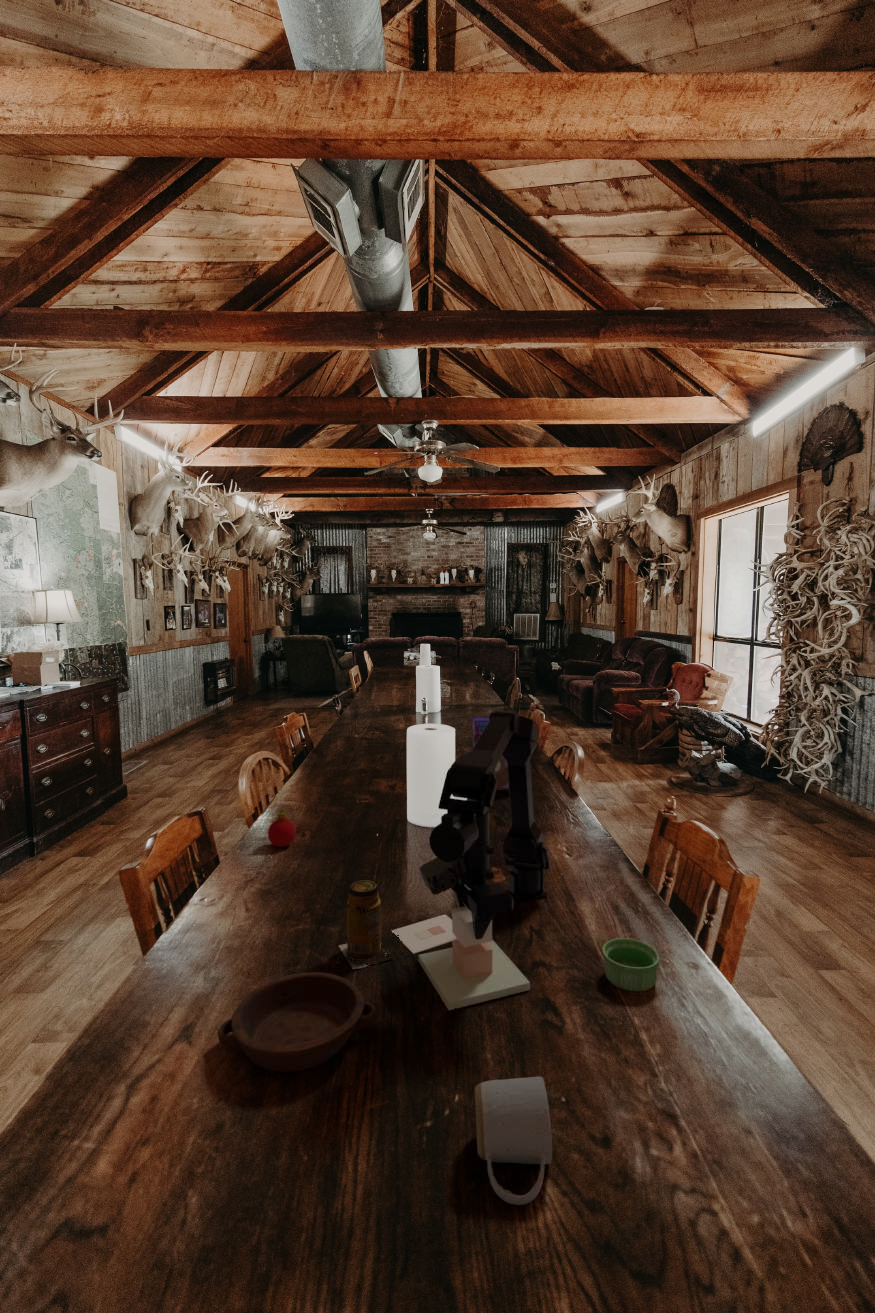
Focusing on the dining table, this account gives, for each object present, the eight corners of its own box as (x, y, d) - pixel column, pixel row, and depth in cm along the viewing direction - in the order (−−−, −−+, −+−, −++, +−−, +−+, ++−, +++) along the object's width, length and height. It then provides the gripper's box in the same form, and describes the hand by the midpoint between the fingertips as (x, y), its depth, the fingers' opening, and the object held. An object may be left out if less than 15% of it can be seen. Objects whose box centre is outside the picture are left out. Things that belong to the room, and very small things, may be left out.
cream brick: (479, 926, 104) (479, 904, 104) (492, 941, 100) (492, 917, 99) (452, 932, 103) (452, 909, 102) (463, 947, 98) (463, 923, 98)
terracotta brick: (479, 957, 105) (479, 934, 104) (492, 973, 100) (492, 949, 100) (452, 963, 103) (452, 940, 103) (464, 979, 98) (464, 956, 98)
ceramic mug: (473, 1122, 72) (473, 1061, 72) (542, 1122, 72) (543, 1061, 72) (479, 1211, 62) (479, 1141, 61) (560, 1211, 62) (560, 1141, 61)
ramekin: (630, 1001, 95) (630, 974, 94) (590, 971, 103) (590, 946, 102) (671, 984, 99) (671, 958, 98) (629, 957, 107) (630, 932, 106)
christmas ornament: (292, 851, 155) (291, 813, 155) (264, 851, 155) (263, 813, 155) (299, 841, 162) (298, 804, 162) (272, 841, 163) (271, 804, 162)
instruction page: (445, 915, 122) (445, 914, 122) (470, 935, 114) (470, 934, 114) (390, 931, 116) (390, 930, 116) (413, 954, 108) (413, 953, 108)
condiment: (376, 937, 114) (375, 874, 113) (393, 960, 106) (392, 893, 105) (338, 947, 111) (337, 882, 110) (353, 971, 103) (351, 902, 102)
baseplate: (491, 945, 111) (491, 939, 111) (530, 989, 98) (530, 982, 97) (418, 961, 106) (418, 955, 106) (448, 1010, 93) (448, 1003, 93)
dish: (384, 1071, 81) (384, 1035, 80) (208, 1102, 76) (206, 1064, 76) (370, 992, 98) (369, 962, 97) (225, 1013, 93) (224, 981, 93)
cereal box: (473, 790, 208) (472, 720, 206) (474, 786, 212) (474, 717, 211) (524, 792, 205) (524, 721, 203) (525, 788, 209) (525, 718, 208)
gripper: (407, 826, 106) (408, 913, 107) (446, 869, 88) (447, 972, 90) (466, 818, 110) (466, 902, 111) (515, 857, 92) (515, 956, 93)
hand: (472, 930), depth 101 cm, fingers closed on cream brick, 5 cm apart
